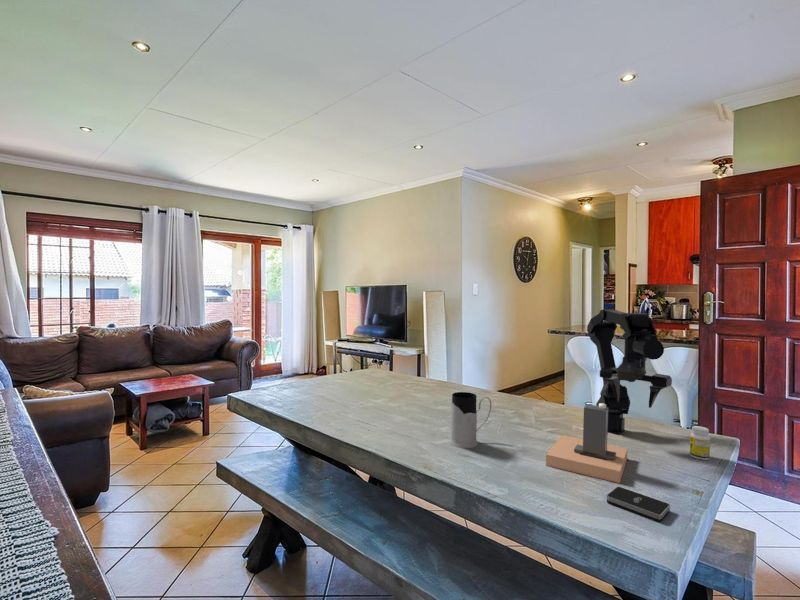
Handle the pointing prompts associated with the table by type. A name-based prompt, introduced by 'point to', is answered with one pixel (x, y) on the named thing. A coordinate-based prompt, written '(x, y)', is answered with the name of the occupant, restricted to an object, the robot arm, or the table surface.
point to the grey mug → (465, 419)
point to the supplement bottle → (700, 443)
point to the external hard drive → (638, 504)
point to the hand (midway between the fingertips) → (633, 404)
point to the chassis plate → (586, 460)
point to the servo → (595, 433)
